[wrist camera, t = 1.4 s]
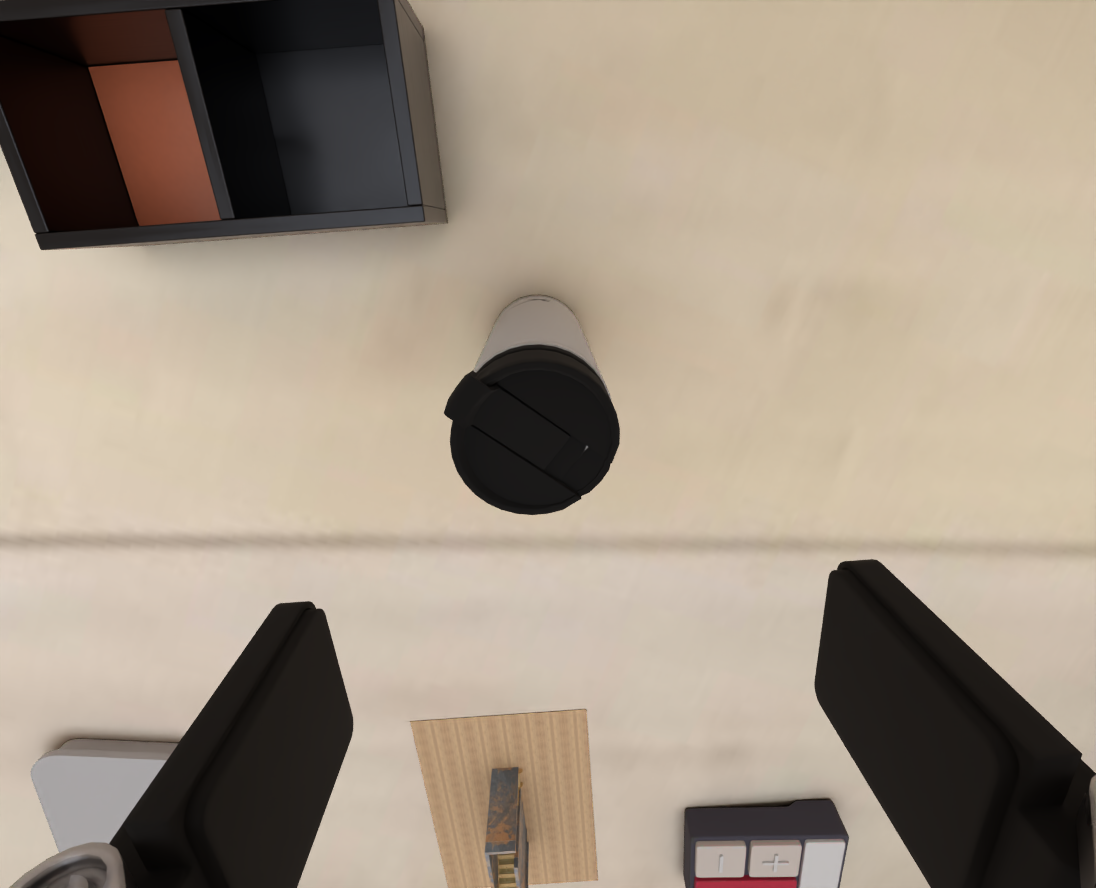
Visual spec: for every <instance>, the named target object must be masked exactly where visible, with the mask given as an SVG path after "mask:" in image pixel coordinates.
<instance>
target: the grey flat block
mask: <svg viewBox="0 0 1096 888" xmlns="http://www.w3.org/2000/svg"><path fill="white" fill-rule="evenodd" d="M178 744H179V743H163V742H141V741H119V740H97V739H73V740H70V741H67V742H66V743H64V744H63V745H62V746H61V747H60V748H59V749H57V750H52V751H49V752H47V753H45V754H44V755H42V756H41V758H40V759H39V760H38V761H37V762H36V763H35V764H34V765H33V767H32V769H31V778H32V781H33V784H34V787H35V789H36V792H37V795H38V797H39V800H40V803H41V805H42V808H43V811H44V813H45V816H46V819H47V821H48V824H49V827H50V829H51V832H52V835H53V837H54V840H55V843H56V845H57V848H58V851H59V853H60V852H62V851H64V850H67V849H69V848H71V847H75V846H78V845H82V844H86V843H89V842H99V843H108V844H109V843H110V841H111V840H112V838H113V837H114V835H115V834H116V833H117V831H118V830H119V828H120V827H121V825H122V824H123V822H124V821H125V819H126V818H127V817H128V815H129V814H130V812H131V811H132V809H133V808H134V807H135V805H136V804H137V802H138V801H139V799H140V798H141V797H142V795H143V794H144V792H145V791H146V789H147V788H148V787H149V785H150V784H151V782H152V781H153V779H154V778H155V777H156V775H157V774H158V772H159V771H160V769H161V768H162V767H163V765H164V764H165V762H166V761H167V759H168V758H169V756H170V755H171V754H172V752H173V751H174V749H175V748H176V746H177V745H178Z"/></svg>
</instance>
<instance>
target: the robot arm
mask: <svg viewBox="0 0 1096 888" xmlns="http://www.w3.org/2000/svg"><path fill="white" fill-rule="evenodd" d="M815 692H816V696H817V699H818V701H819V703H820V705H821V707H822V709H823V710H824V712H825V714H826V715H827V717H828V719H829V720H830V722H831V724H832V725H833V727H834V729H835V730H836V732H837V734H838V735H839V737H840V738H841V740H842V742H843V743H844V745H845V747H846V748H847V750H848V752H849V753H850V755H851V757H852V758H853V760H854V762H855V763H856V765H857V766H858V768H859V770H860V771H861V773H862V775H863V776H864V778H865V780H866V781H867V783H868V785H869V786H870V788H871V790H872V791H873V793H874V795H875V796H876V798H877V799H878V801H879V803H880V804H881V806H882V808H883V809H884V811H885V813H886V814H887V816H888V818H889V819H890V821H891V823H892V824H893V826H894V828H895V829H896V831H897V832H898V834H899V836H900V837H901V839H902V841H903V842H904V844H905V846H906V847H907V849H908V851H909V852H910V854H911V856H912V857H913V859H914V861H915V862H916V864H917V865H918V867H919V869H920V870H921V872H922V874H923V875H924V877H925V879H926V880H927V882H928V884H929V885H930V887H931V888H1096V773H1095V772H1094V771H1093V770H1092V769H1091V768H1090V767H1089V766H1088V765H1087V764H1085V763H1084V762H1083V761H1082V760H1081V756H1082V753H1081V752H1080V751H1079V750H1077V749H1076V748H1075V747H1074V746H1073V745H1072V744H1071V743H1070V742H1069V741H1068V740H1067V739H1066V738H1065V737H1064V736H1063V735H1062V734H1061V733H1060V732H1059V731H1057V730H1056V729H1055V728H1054V727H1053V726H1052V725H1051V724H1050V723H1049V722H1048V721H1047V720H1046V719H1045V718H1044V717H1043V716H1042V715H1041V714H1040V713H1039V712H1037V711H1036V710H1035V709H1034V708H1033V707H1032V706H1031V705H1030V704H1029V703H1028V702H1027V701H1026V700H1025V699H1024V698H1023V697H1022V696H1021V695H1020V694H1019V693H1017V692H1016V691H1015V690H1014V689H1013V688H1012V687H1011V686H1010V685H1009V684H1008V683H1007V682H1006V681H1005V680H1004V679H1003V678H1002V677H1001V676H1000V675H999V674H997V673H996V672H995V671H994V670H993V669H992V668H991V667H990V666H989V665H988V664H987V663H986V662H985V661H984V660H983V659H982V658H981V657H980V656H978V655H977V654H976V653H975V652H974V651H973V650H972V649H971V648H970V647H969V646H968V645H967V644H966V643H965V642H964V641H963V640H962V639H961V638H960V637H958V636H957V635H956V634H955V633H954V632H953V631H952V630H951V629H950V628H949V627H948V626H947V625H946V624H945V623H944V622H943V621H942V620H941V619H940V618H938V617H937V616H936V615H935V614H934V613H933V612H932V611H931V610H930V609H929V608H928V607H927V606H926V605H925V604H924V603H923V602H922V601H921V600H920V599H918V598H917V597H916V596H915V595H914V594H913V593H912V592H911V591H910V590H909V589H908V588H907V587H906V586H905V585H904V584H903V583H902V582H901V581H900V580H898V579H897V578H896V577H895V576H894V575H893V574H892V573H891V572H890V571H889V570H888V569H887V568H886V567H885V566H884V565H883V564H882V563H880V562H879V561H877V560H873V559H871V560H858V561H844V562H842V563H840V564H839V566H838V568H837V570H834V571H831V573H830V575H829V579H828V587H827V594H826V602H825V609H824V616H823V624H822V631H821V639H820V646H819V653H818V661H817V668H816V675H815ZM352 732H353V716H352V712H351V708H350V704H349V701H348V697H347V693H346V690H345V686H344V682H343V678H342V675H341V671H340V667H339V664H338V660H337V656H336V652H335V649H334V645H333V641H332V638H331V634H330V630H329V626H328V623H327V619H326V615H325V613H324V611H323V610H322V609H316V608H315V605H314V604H313V603H312V602H309V601H307V602H293V603H280V604H277V605H276V606H275V607H274V608H273V609H272V611H271V612H270V614H269V615H268V616H267V618H266V619H265V621H264V622H263V624H262V625H261V626H260V628H259V629H258V631H257V632H256V634H255V635H254V636H253V638H252V639H251V641H250V642H249V644H248V645H247V646H246V648H245V649H244V651H243V652H242V654H241V655H240V656H239V658H238V659H237V661H236V662H235V664H234V665H233V666H232V668H231V669H230V671H229V672H228V674H227V675H226V676H225V678H224V679H223V681H222V682H221V684H220V685H219V686H218V688H217V689H216V691H215V692H214V694H213V695H212V696H211V698H210V699H209V701H208V702H207V704H206V705H205V706H204V708H203V709H202V711H201V712H200V714H199V715H198V716H197V718H196V719H195V721H194V722H193V724H192V725H191V726H190V728H189V729H188V731H187V732H186V734H185V735H184V736H183V738H182V739H181V741H180V742H179V744H178V745H177V746H176V748H175V749H174V751H173V752H172V754H171V755H170V756H169V758H168V759H167V761H166V762H165V764H164V765H163V767H162V768H161V769H160V771H159V772H158V774H157V775H156V777H155V778H154V779H153V781H152V782H151V784H150V785H149V787H148V788H147V789H146V791H145V792H144V794H143V795H142V797H141V798H140V799H139V801H138V802H137V804H136V805H135V807H134V808H133V809H132V811H131V812H130V814H129V815H128V817H127V818H126V819H125V821H124V822H123V824H122V825H121V827H120V828H119V830H118V831H117V833H116V834H115V835H114V837H113V838H112V840H111V841H110V843H109V844H108V843H99V842H89V843H86V844H82V845H78V846H75V847H71V848H69V849H67V850H64V851H62V852H60V853H58V854H56V855H54V856H52V857H50V858H48V859H46V860H45V861H43V862H42V863H40V864H39V865H37V866H36V867H34V868H33V869H31V870H30V871H28V872H27V873H25V874H24V875H23V876H22V877H21V878H20V879H18V880H17V881H16V882H15V883H14V884H13V885H12V886H10V887H9V888H297V886H298V883H299V880H300V878H301V875H302V872H303V870H304V867H305V864H306V861H307V859H308V856H309V853H310V850H311V848H312V845H313V842H314V839H315V837H316V834H317V831H318V828H319V826H320V823H321V820H322V817H323V815H324V812H325V809H326V806H327V804H328V801H329V798H330V795H331V793H332V790H333V787H334V784H335V782H336V779H337V776H338V773H339V771H340V768H341V765H342V762H343V760H344V757H345V754H346V751H347V749H348V746H349V743H350V740H351V737H352Z"/></svg>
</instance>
